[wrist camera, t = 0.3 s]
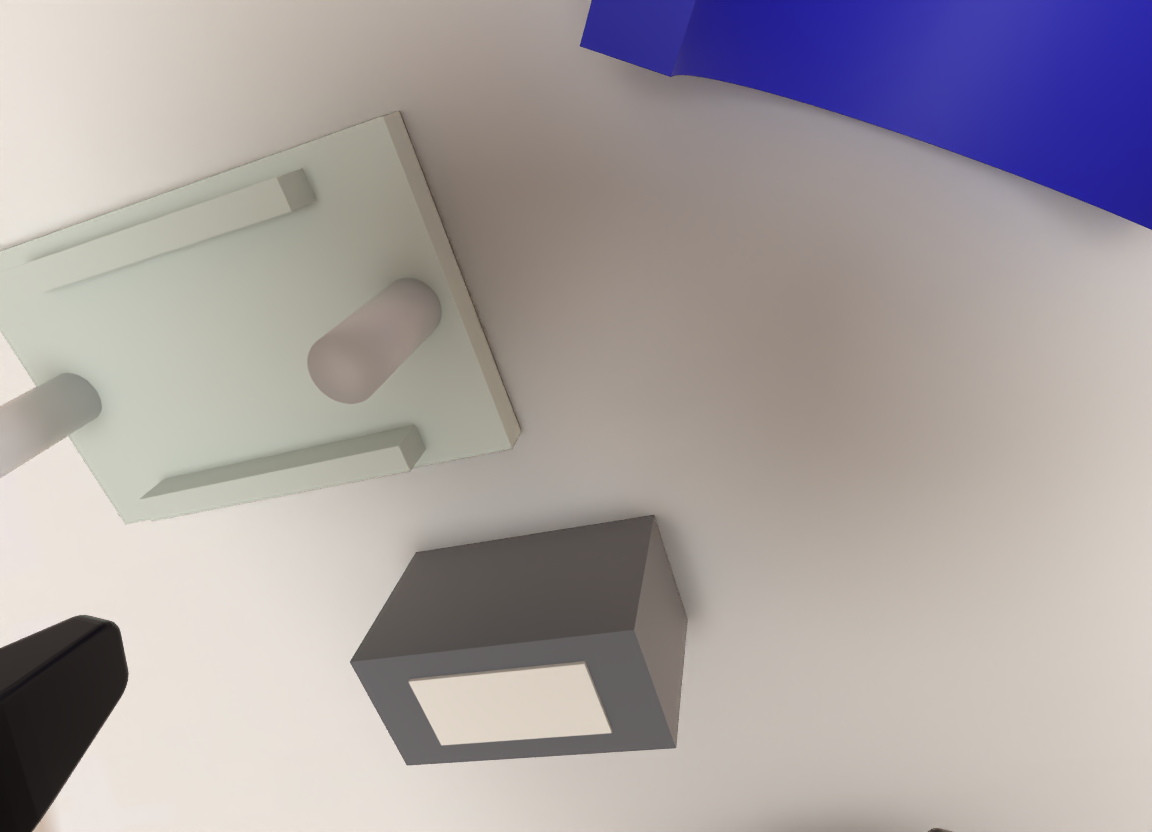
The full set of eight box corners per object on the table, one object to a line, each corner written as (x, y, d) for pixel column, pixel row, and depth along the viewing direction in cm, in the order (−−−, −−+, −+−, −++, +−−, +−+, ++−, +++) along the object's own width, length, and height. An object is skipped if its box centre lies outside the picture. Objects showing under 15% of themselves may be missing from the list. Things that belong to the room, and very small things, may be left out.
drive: (687, 617, 24) (675, 751, 20) (461, 643, 27) (405, 768, 22) (654, 512, 23) (633, 632, 18) (417, 550, 25) (348, 664, 21)
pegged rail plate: (520, 431, 22) (468, 533, 18) (145, 507, 26) (28, 605, 22) (399, 111, 19) (296, 140, 14) (-12, 256, 23) (-188, 313, 19)
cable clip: (1293, -15, 15) (1596, -31, 10) (1144, 210, 17) (1325, 298, 12) (699, -210, 15) (678, -328, 10) (627, 36, 17) (579, 46, 12)
